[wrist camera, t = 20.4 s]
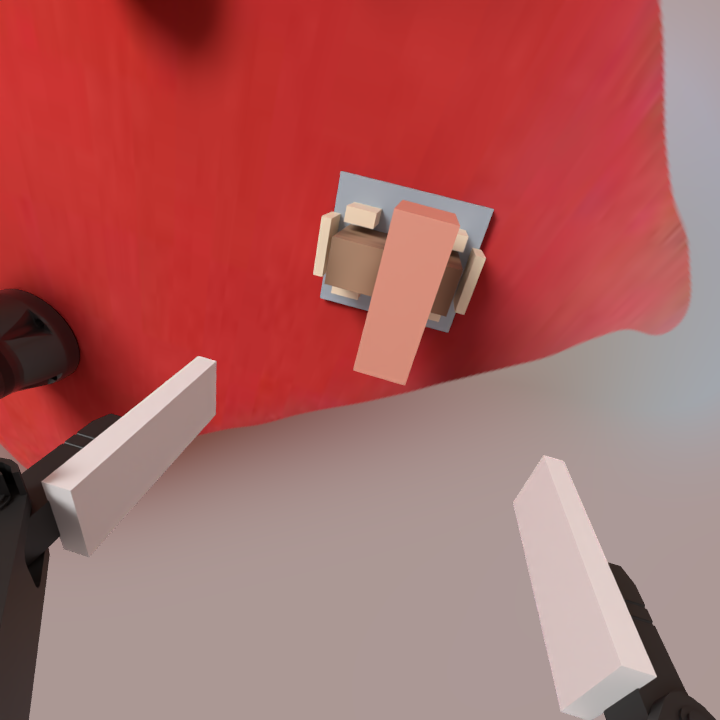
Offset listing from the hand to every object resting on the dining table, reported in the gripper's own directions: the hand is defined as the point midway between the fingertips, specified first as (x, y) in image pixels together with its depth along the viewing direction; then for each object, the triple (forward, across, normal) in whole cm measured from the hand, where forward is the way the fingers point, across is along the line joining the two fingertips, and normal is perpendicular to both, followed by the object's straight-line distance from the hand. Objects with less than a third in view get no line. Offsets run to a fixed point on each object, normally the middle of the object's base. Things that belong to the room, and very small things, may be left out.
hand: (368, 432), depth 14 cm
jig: (+31, -2, 0) cm, 31 cm away
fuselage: (+30, -2, 0) cm, 30 cm away
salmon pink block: (+22, 0, 0) cm, 22 cm away
